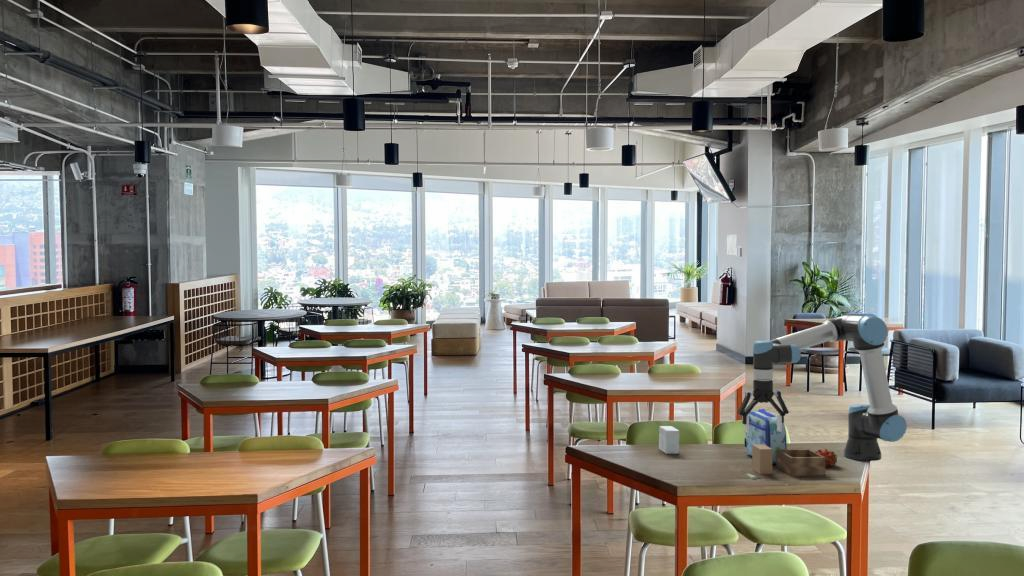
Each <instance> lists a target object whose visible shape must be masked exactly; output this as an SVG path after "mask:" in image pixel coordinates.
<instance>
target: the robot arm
mask: <svg viewBox="0 0 1024 576" xmlns="http://www.w3.org/2000/svg"><path fill="white" fill-rule="evenodd" d="M888 335H889V330H888V325H887V323H886V322H885V321H884V320H883V319H882V318H880V317H878V316H874V315H867V314H857V313H856V314H855V313H847V314H843V315H839V316H836V317H833V318H831V319H827V320H825V321H823V322H822V324H820V325H815V326H813V327H810V328H805V329H804V330H799V331H797V332H793V333H789V334H786V335H783V336H781V337H777V338H774V339H770V340H755V341H754V342H753V347H752V348H753V349H752V357H753V358H752V359H753V360H752V361H753V362H752V367H753V369H752V371H753V372H752V375H753V383H752V384H753V385H752V387H753V391H748V390H746V391H745V395H744V397H743V400H742V402H741V404H740V406H739V408H738V411H737V414H738V415H740V416H741V417H742V419H741V421H742V424H743V425H744V432H745V434H746V433H749V417H748V416H747V415H748V414H749V413H750V411H752V410H753V409H754V408H755V407H756V406H757V404H759V403H761V404H762V403H769V404H771V406H772V407H773V408H774V409H775V410H776V412H777V413H778V414H777V431H779V432H782V423H784V424H785V416H786V414H789V413H790V411H789V409H788V407H787V406H786V403H785V401H784V399H783V397H782V392H781V391H779V390H774V381H773V378H774V365H778V364H780V365H781V364H782V365H783V364H790V365H791V364H795V363H798V362H799V361H800V359H801V357H802V356H801V353H802V352H801V350H804V349H808V348H811V347H815V346H817V345H820V344H824V343H827V342H829V343H835V342H839V341H846V342H847V341H848V342H853V343H852V344H853V349H854V350H855V351H856V352H858V353H859V357H860V362H861V367H862V368H861V369H862V372H863V379H864V381H865V387H866V392H867V396H868V401H869V404H852V405H850V406H849V408H848V413H847V414H848V415H847V416H848V425H847V427H848V436H847V437H848V438H847V440H846V443H845V446H844V449H843V456H844V457H845V458H847V459H851V460H857V461H863V460H867V461H868V460H869V461H868V462H875V461H880V460H882V451H881V448H880V445H879V443H878V439H879V440H882V441H884V442H891V443H894V442H895V443H896V442H897V441H899V440H901V439H902V438H903V437H904V435H905V434H906V432H907V426H908V424H907V421H906V419H905V417H903V416H902V415H900V414H899V411H898V406H897V405H895V404H894V403H893V400H892V396H891V390H890V386H889V380H888V374H887V371H886V367H885V366H886V365H885V361H884V357H883V351H882V349H883V348H884V346H885V342H886V340H887V337H888ZM752 396H753V399H752V400H751V397H752ZM774 396H775V398H776V400H777V402H778V404H779V405H778V404H777V403H776V402H775V400H774V399H773V397H774ZM750 400H751V402H750ZM749 402H750V403H749ZM748 403H749V404H748ZM867 461H866V462H867Z"/></svg>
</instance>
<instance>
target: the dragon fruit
mask: <svg viewBox="0 0 1024 576" xmlns="http://www.w3.org/2000/svg"><path fill="white" fill-rule="evenodd" d="M815 452H816V453H818V454H820V455H822V456H823V457H825V469H827V468H829V467H832V466H837V462H838V460H837V459H838V457H837V454H836V453H835V452H834V451H832V450H830V451H829V450H828V449H827V448H824V449H823V450H822V449H818V450H817V451H815Z"/></svg>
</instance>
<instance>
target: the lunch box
mask: <svg viewBox="0 0 1024 576" xmlns="http://www.w3.org/2000/svg"><path fill="white" fill-rule="evenodd" d="M777 415H778V414H777ZM777 415H776V414H775V413H773V412H770V411H767V410H766V409H765V408H759V409H758V410H753V411H752V410H751V411H750V413H749V414H748V415H747V416H748V417H749V433H746V432H745V438H744V448H746V452H747V455H748V456H750V457H752V445H766V446H768V447H770V448H771V449H772V465H774V464H775V465H776V458H777V450H784V449H787V446H788V445H787V431H786V430H787V429H786V425H785V422H784V423H782V432H779V431H777Z"/></svg>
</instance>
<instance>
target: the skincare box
mask: <svg viewBox="0 0 1024 576" xmlns="http://www.w3.org/2000/svg"><path fill="white" fill-rule="evenodd" d="M658 428H659V429H658V430H659V431H658V434H659V436H658V449H659V450H660V451H661V452H663V453H664V454H667V455H668V454H671V455H672V454H673V455H674V454H680V430H679V429H677V428H676V427H674V426H673V425H672V426H671V425H660V426H659V427H658Z"/></svg>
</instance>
